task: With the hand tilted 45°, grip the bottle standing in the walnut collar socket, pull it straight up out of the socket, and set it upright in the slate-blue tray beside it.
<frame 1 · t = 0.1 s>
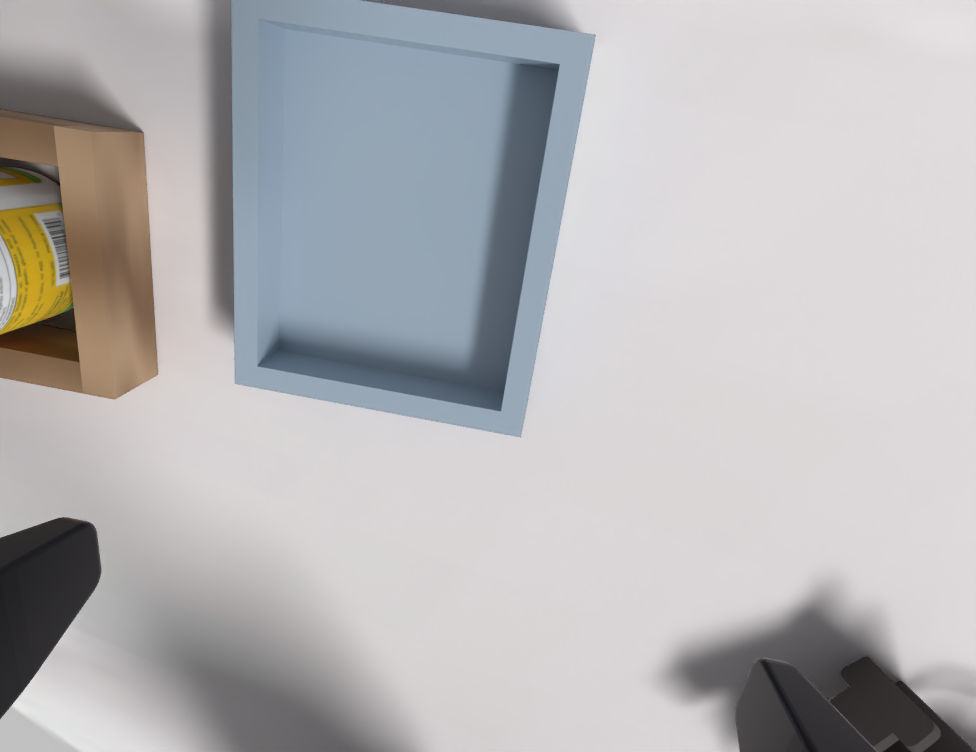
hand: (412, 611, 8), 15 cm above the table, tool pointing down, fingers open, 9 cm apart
collar socket: (36, 242, 23), on the table
supplement bottle: (41, 241, 23), resting in collar socket
tray: (410, 222, 21), on the table
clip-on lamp: (970, 722, 26), on the table
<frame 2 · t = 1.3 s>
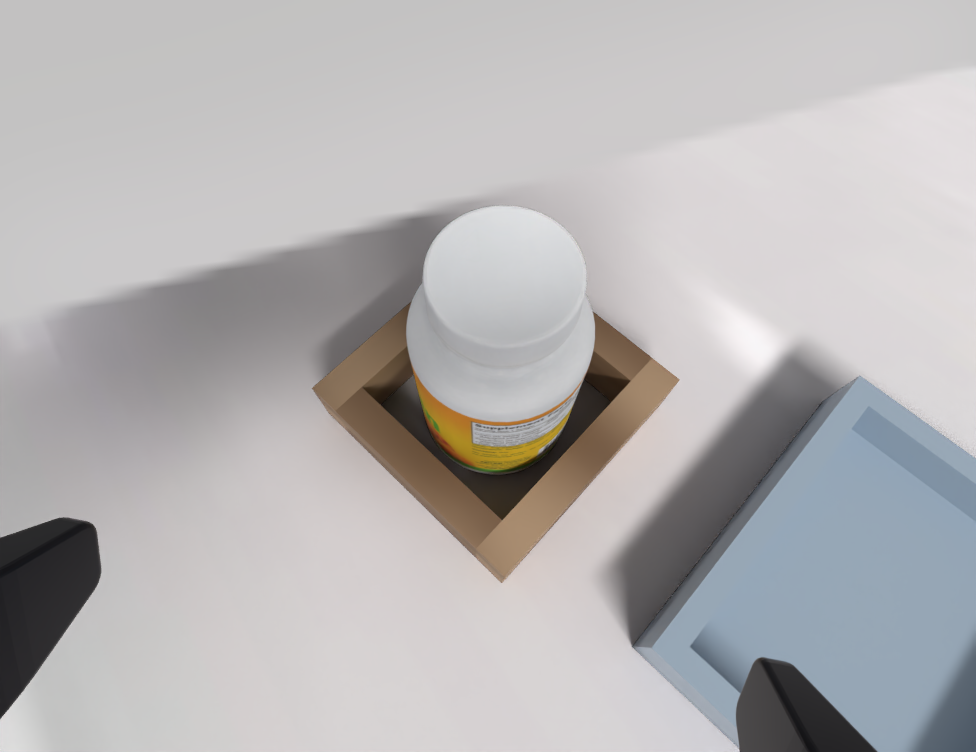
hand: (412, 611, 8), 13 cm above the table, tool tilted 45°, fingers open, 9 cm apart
collar socket: (495, 408, 24), on the table
supplement bottle: (495, 410, 24), resting in collar socket
tray: (858, 616, 21), on the table
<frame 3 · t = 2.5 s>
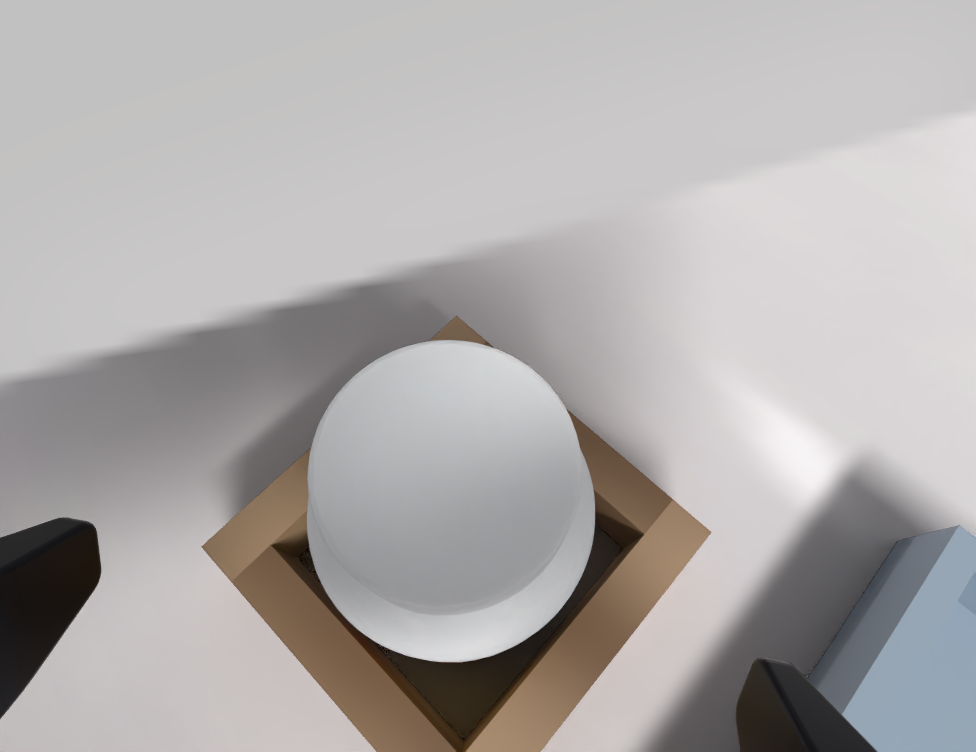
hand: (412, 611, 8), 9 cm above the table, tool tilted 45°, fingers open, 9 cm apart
collar socket: (461, 553, 18), on the table
supplement bottle: (461, 554, 18), resting in collar socket
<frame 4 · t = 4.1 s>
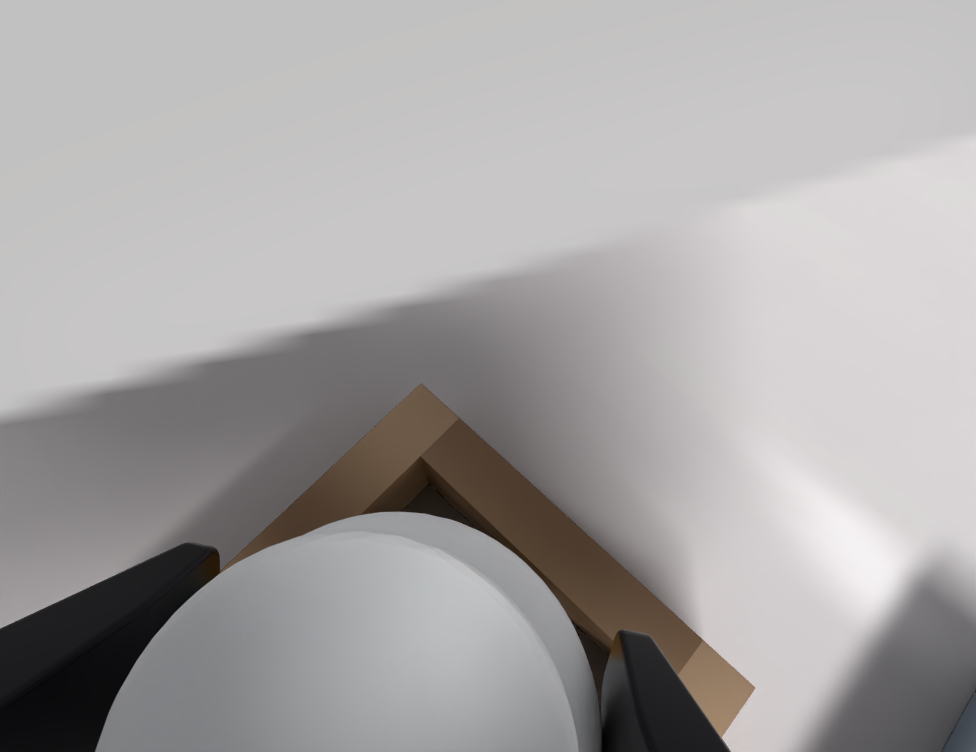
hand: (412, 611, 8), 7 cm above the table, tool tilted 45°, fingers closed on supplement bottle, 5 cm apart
collar socket: (427, 689, 14), on the table
supplement bottle: (428, 688, 14), resting in collar socket, touching gripper
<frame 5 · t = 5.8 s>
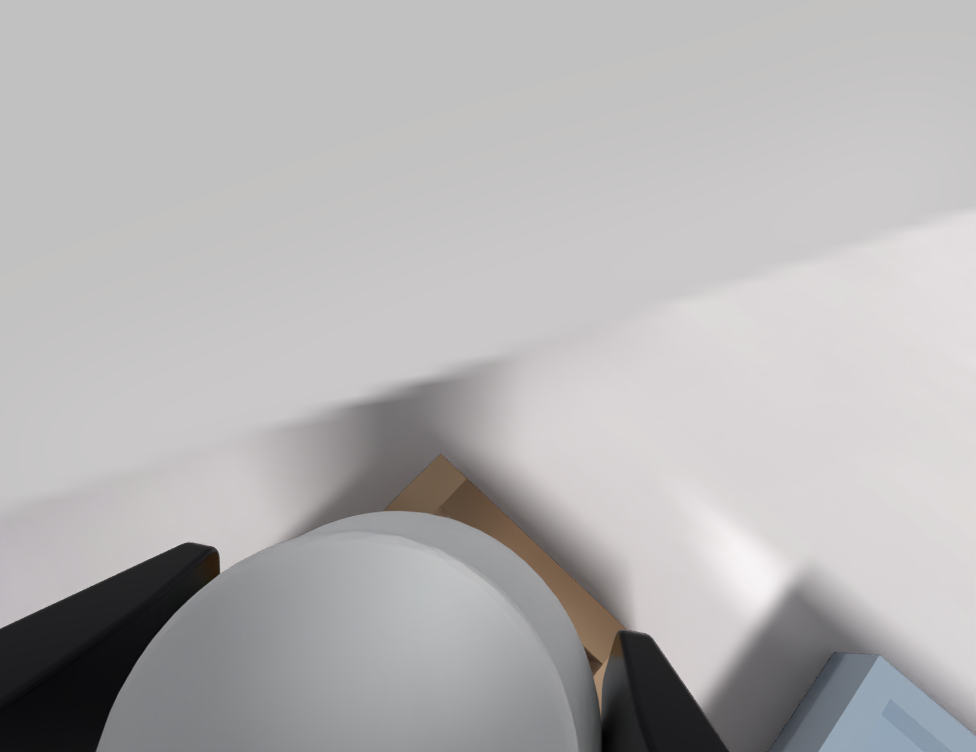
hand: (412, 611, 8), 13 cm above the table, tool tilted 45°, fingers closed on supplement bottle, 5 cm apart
collar socket: (445, 665, 20), on the table
supplement bottle: (428, 686, 14), point 6 cm above the table, touching gripper
when the fingers open (9 cm above the table, at t = 8.0 s): supplement bottle drops 1 cm, resting on tray.
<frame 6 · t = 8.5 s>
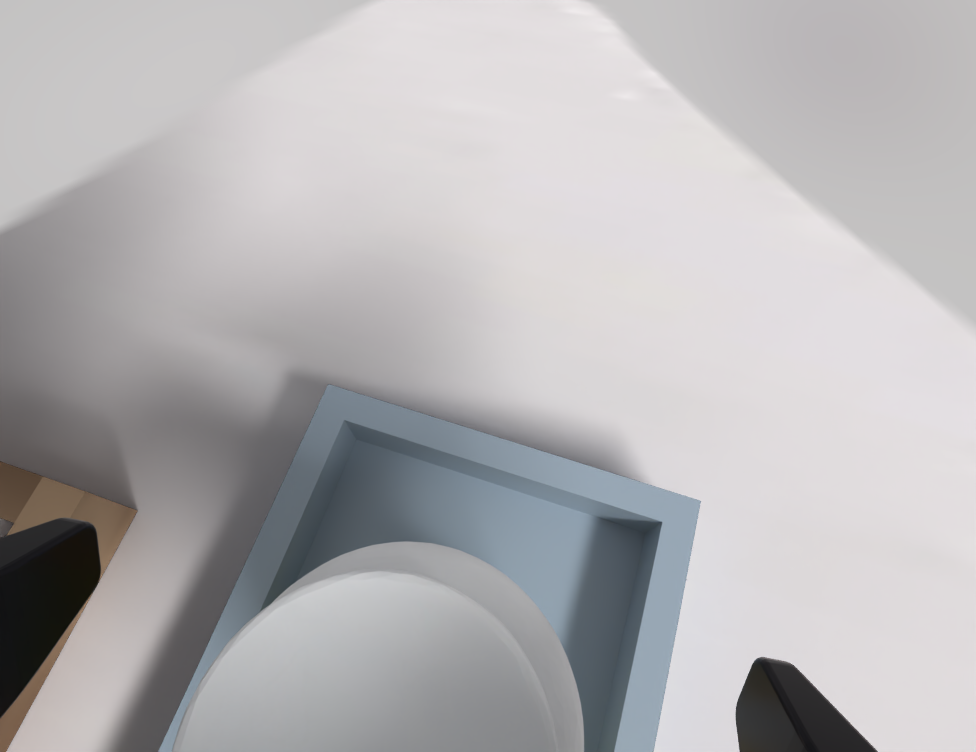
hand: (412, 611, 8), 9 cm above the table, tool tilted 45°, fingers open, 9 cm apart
supplement bottle: (432, 691, 15), point 1 cm above the table, touching tray
tray: (434, 681, 16), on the table
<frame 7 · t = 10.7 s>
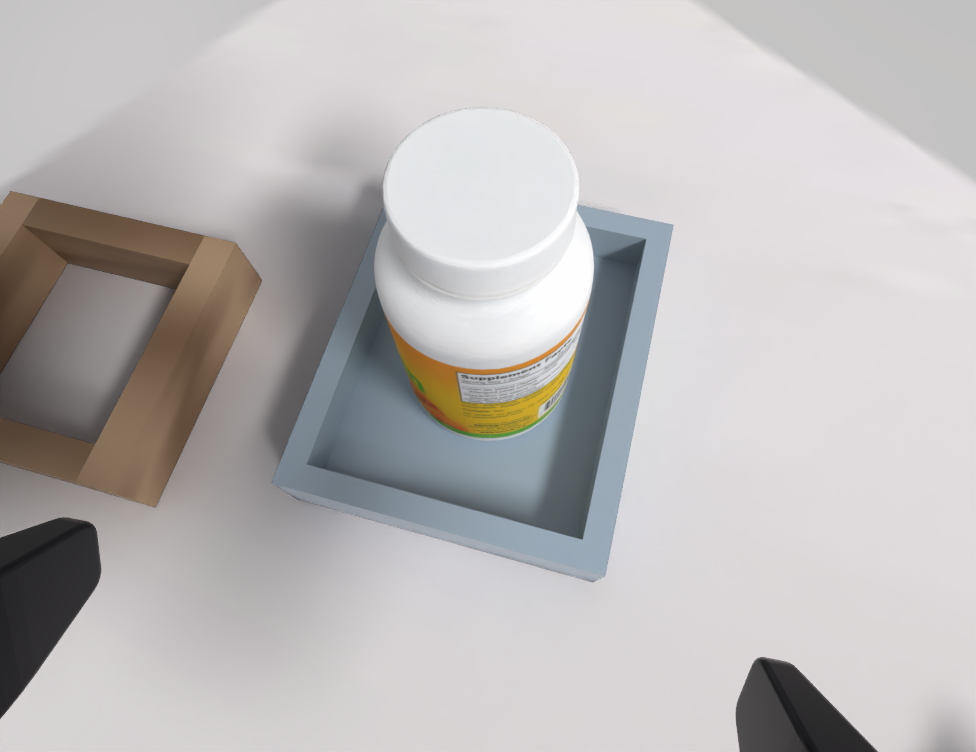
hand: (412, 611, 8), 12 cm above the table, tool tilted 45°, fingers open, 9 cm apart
collar socket: (101, 356, 23), on the table
supplement bottle: (489, 371, 21), point 1 cm above the table, touching tray
tray: (489, 373, 22), on the table
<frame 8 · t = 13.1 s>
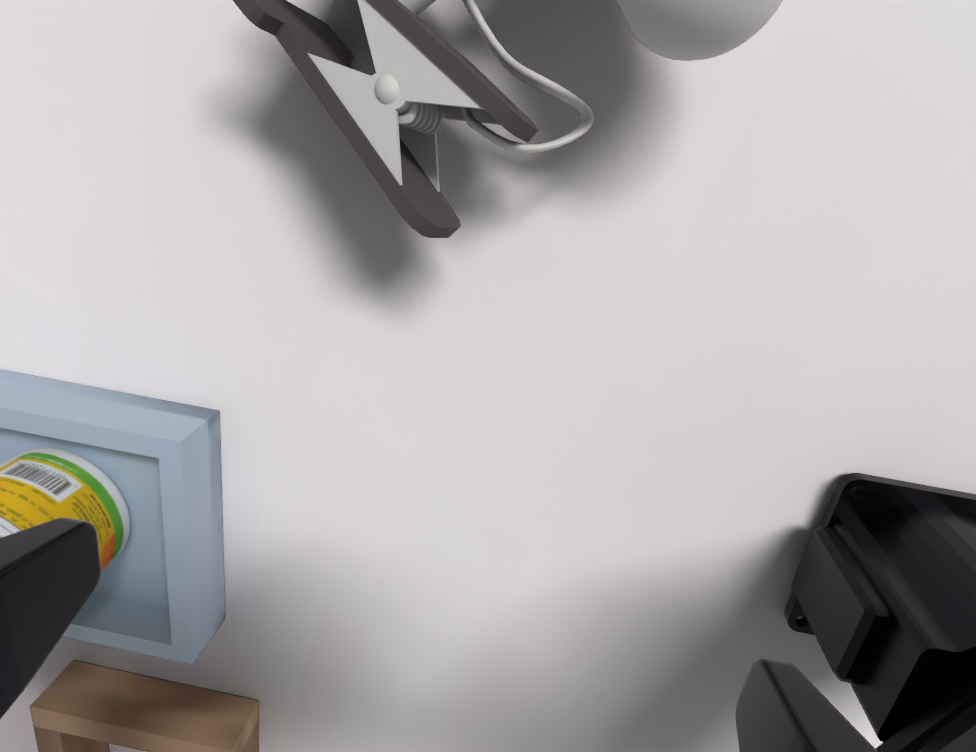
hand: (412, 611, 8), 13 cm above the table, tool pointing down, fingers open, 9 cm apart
collar socket: (170, 747, 30), on the table
supplement bottle: (74, 502, 24), point 1 cm above the table, touching tray
tray: (81, 494, 25), on the table
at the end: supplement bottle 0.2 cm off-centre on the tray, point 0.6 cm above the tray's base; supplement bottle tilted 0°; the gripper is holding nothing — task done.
